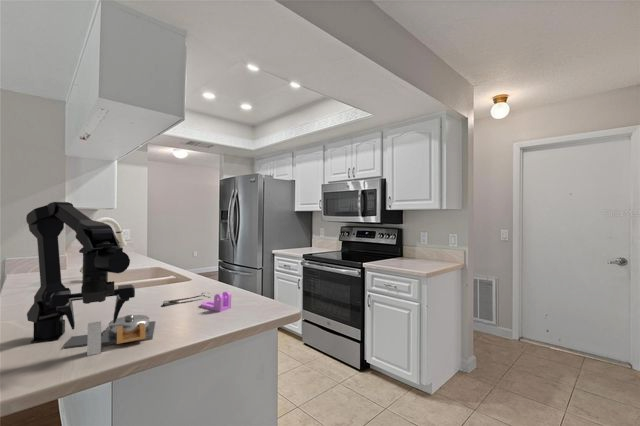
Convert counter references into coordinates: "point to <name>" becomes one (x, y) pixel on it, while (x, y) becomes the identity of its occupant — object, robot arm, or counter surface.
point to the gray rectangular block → (94, 338)
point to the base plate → (111, 340)
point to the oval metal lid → (129, 328)
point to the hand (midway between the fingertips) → (94, 325)
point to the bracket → (219, 302)
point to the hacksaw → (179, 300)
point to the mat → (77, 341)
